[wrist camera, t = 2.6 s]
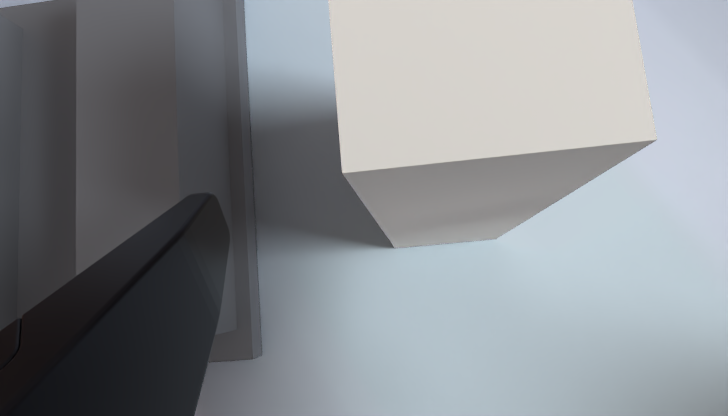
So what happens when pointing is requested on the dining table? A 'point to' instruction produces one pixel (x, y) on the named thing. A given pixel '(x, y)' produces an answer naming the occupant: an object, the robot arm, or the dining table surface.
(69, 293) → the robot arm
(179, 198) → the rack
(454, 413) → the dining table surface
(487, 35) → the grey block
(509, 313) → the dining table surface
